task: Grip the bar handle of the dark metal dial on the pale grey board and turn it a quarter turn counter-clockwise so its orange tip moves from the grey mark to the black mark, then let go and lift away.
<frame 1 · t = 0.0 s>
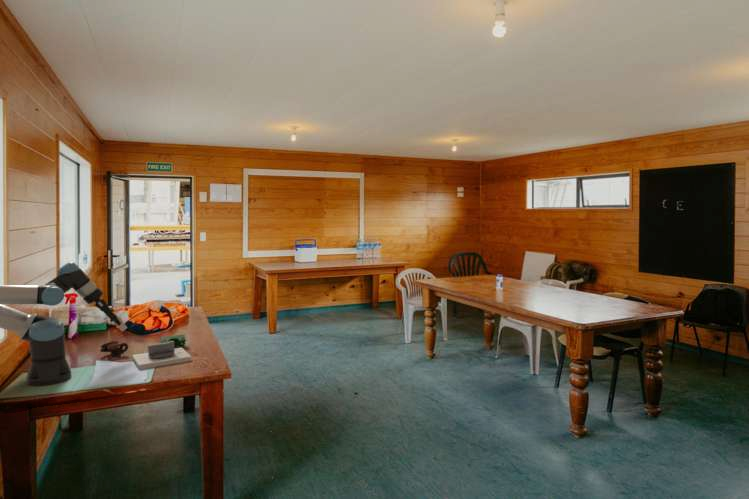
hand: (122, 326, 222), 15 cm above the table, tool tilted 35°, fingers open, 13 cm apart
clamp: (173, 348, 242), on the table
pottery mug: (114, 356, 228), on the table
dial board: (161, 359, 222), on the table
dial: (161, 349, 222), point 5 cm above the table, hinge at 0.0°
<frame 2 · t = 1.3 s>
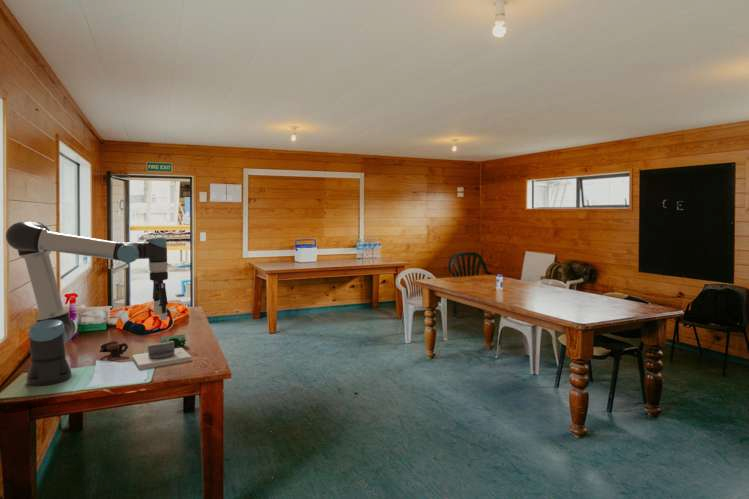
hand: (160, 317, 221), 20 cm above the table, tool pointing down, fingers open, 13 cm apart
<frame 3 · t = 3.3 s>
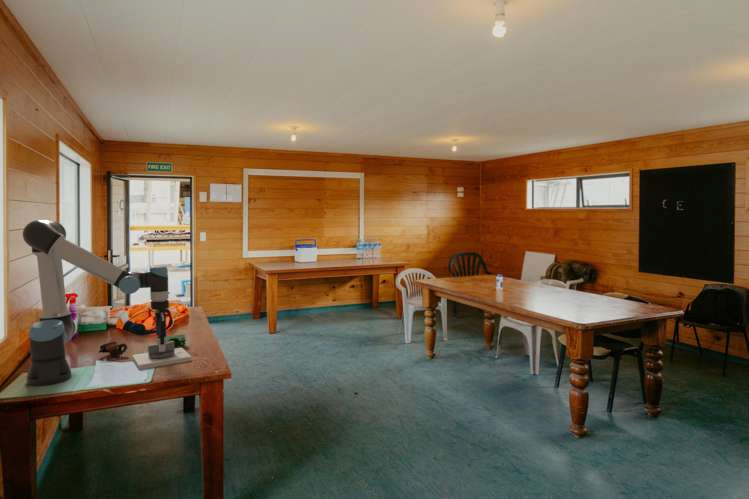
hand: (161, 350, 222), 5 cm above the table, tool pointing down, fingers closed on dial, 2 cm apart
dial: (161, 349, 222), point 5 cm above the table, hinge at 0.0°, touching gripper
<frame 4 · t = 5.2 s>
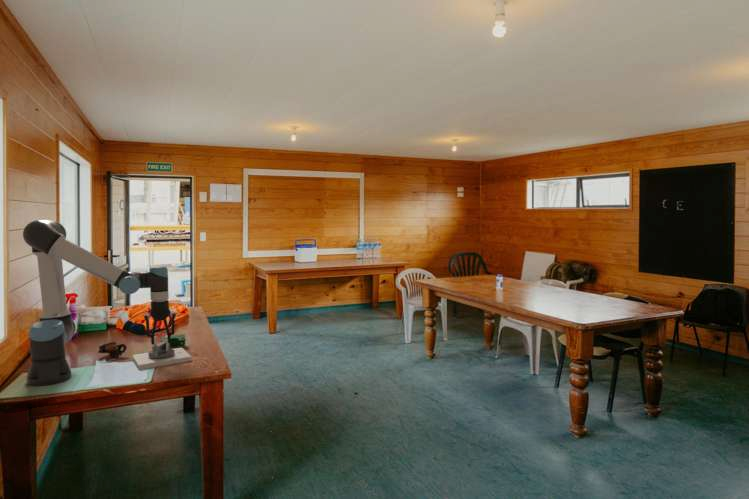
hand: (161, 350, 221), 5 cm above the table, tool pointing down, fingers closed on dial, 4 cm apart
dial: (161, 349, 222), point 5 cm above the table, hinge at 51.4°, touching gripper
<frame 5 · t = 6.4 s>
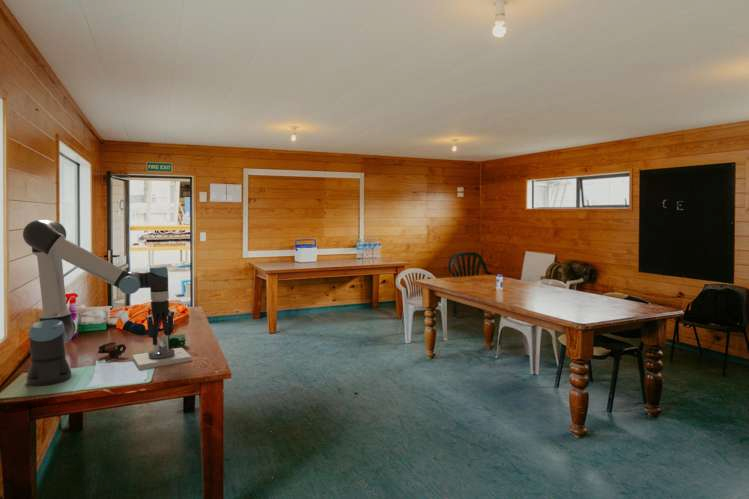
hand: (161, 350, 222), 5 cm above the table, tool pointing down, fingers closed on dial, 4 cm apart
dial: (161, 349, 222), point 5 cm above the table, hinge at 92.3°, touching gripper
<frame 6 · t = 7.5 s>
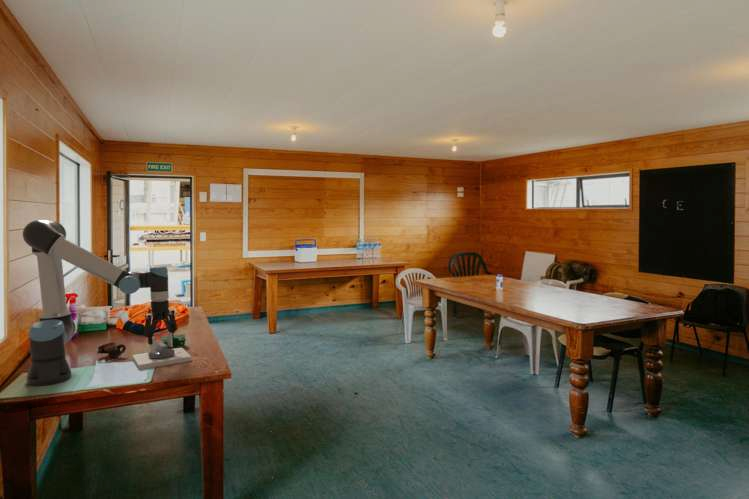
hand: (161, 348, 222), 5 cm above the table, tool pointing down, fingers open, 8 cm apart
dial: (161, 349, 222), point 5 cm above the table, hinge at 93.5°
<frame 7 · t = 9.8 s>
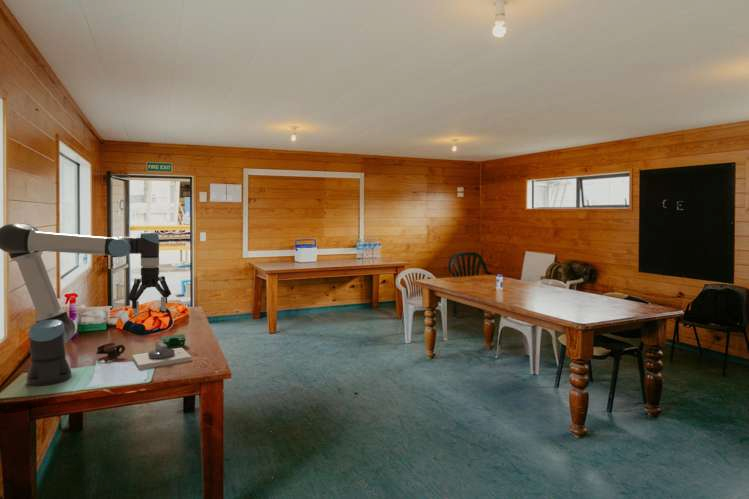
hand: (150, 313, 219), 22 cm above the table, tool pointing down, fingers open, 13 cm apart
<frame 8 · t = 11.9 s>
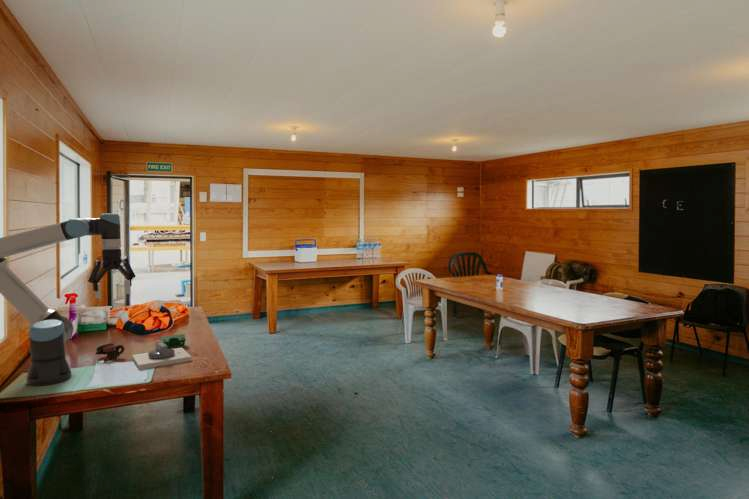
hand: (113, 296, 214), 31 cm above the table, tool pointing down, fingers open, 13 cm apart
at the end: dial at +94° (first picture: +0°); the gripper is holding nothing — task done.
